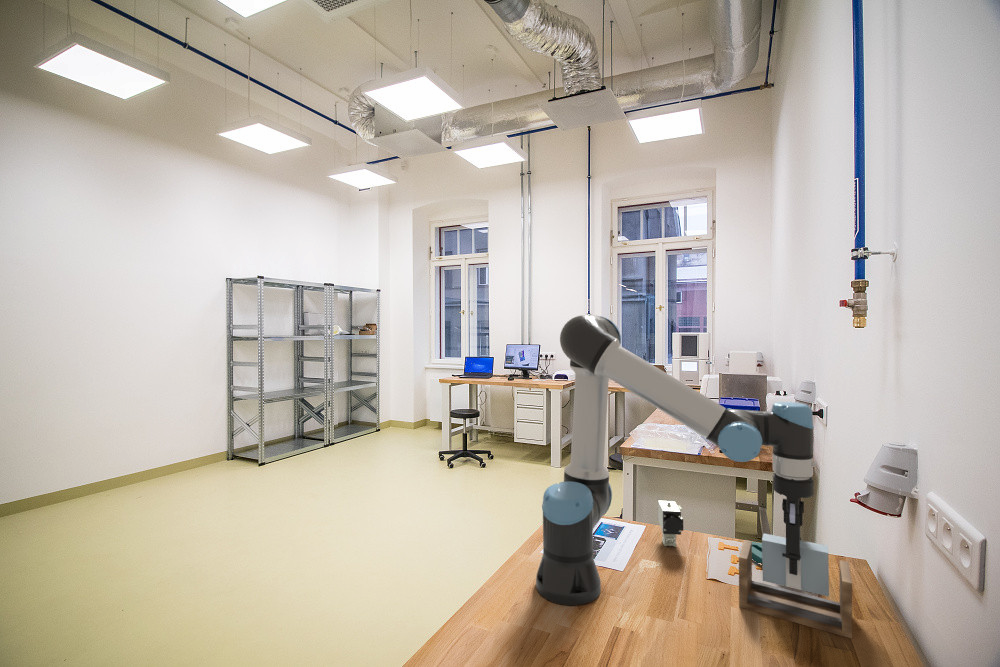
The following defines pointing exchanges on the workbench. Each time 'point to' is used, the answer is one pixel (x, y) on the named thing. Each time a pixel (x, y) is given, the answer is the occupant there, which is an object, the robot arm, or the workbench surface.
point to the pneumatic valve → (669, 521)
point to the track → (797, 599)
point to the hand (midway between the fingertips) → (793, 582)
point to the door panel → (811, 564)
